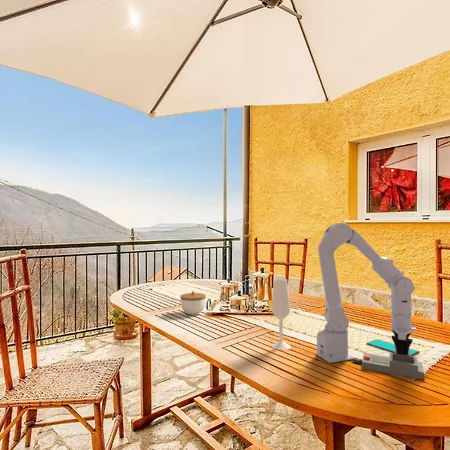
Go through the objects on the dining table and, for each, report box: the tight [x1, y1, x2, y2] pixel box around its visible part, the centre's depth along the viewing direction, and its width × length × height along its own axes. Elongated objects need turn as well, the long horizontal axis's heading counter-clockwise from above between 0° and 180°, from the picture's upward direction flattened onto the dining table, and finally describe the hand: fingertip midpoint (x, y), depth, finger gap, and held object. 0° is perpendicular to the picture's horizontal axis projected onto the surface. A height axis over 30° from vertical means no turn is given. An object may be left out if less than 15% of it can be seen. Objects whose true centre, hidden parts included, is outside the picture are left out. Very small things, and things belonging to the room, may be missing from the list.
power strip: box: [352, 352, 425, 381], centre depth 97 cm, size 19×8×4 cm, turn 62°
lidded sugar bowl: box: [180, 290, 207, 315], centre depth 162 cm, size 13×13×11 cm
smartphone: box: [366, 338, 420, 356], centre depth 113 cm, size 7×1×15 cm
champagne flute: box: [270, 278, 291, 351], centre depth 116 cm, size 7×7×24 cm
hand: (402, 355), depth 103 cm, fingers open, 7 cm apart
